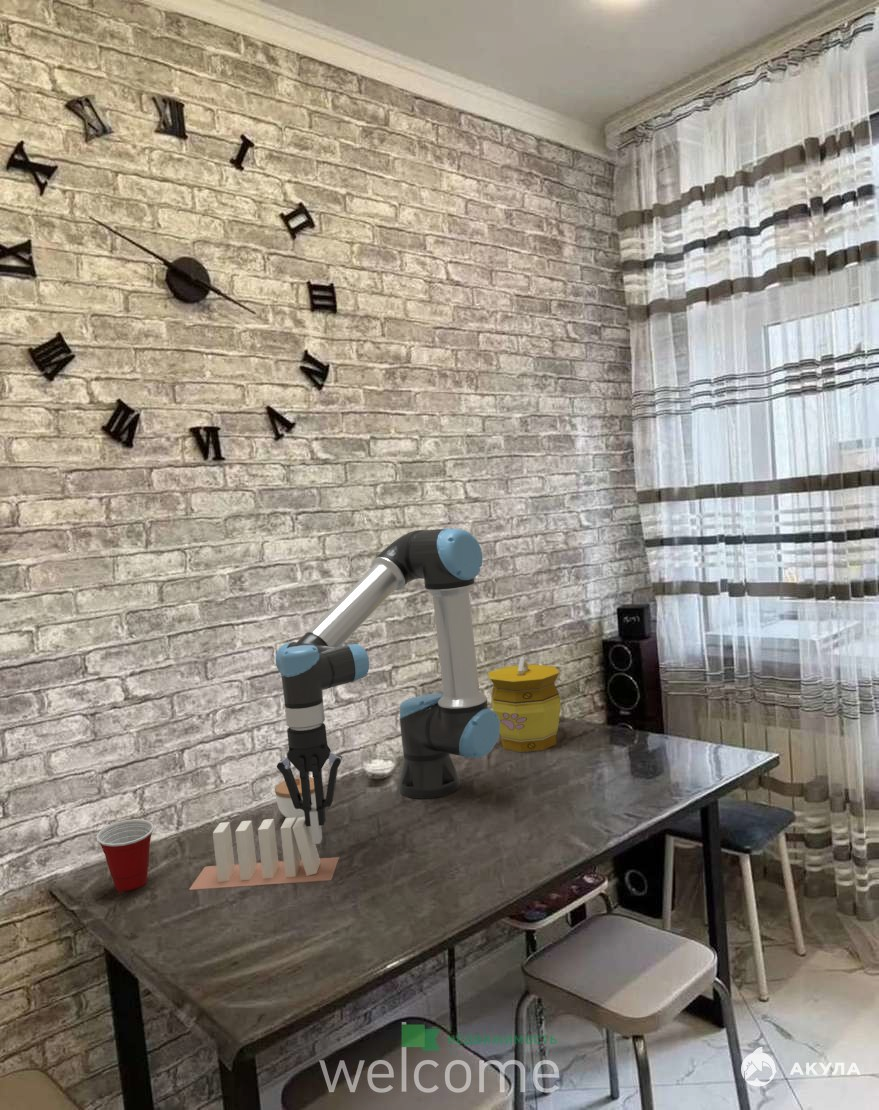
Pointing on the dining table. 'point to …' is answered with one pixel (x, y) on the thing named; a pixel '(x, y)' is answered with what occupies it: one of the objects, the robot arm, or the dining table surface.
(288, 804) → the lidded jar
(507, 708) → the container
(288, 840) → the domino
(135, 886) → the plastic cup
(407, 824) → the dining table surface
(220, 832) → the domino
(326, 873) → the strip
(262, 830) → the domino
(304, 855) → the domino
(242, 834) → the domino
